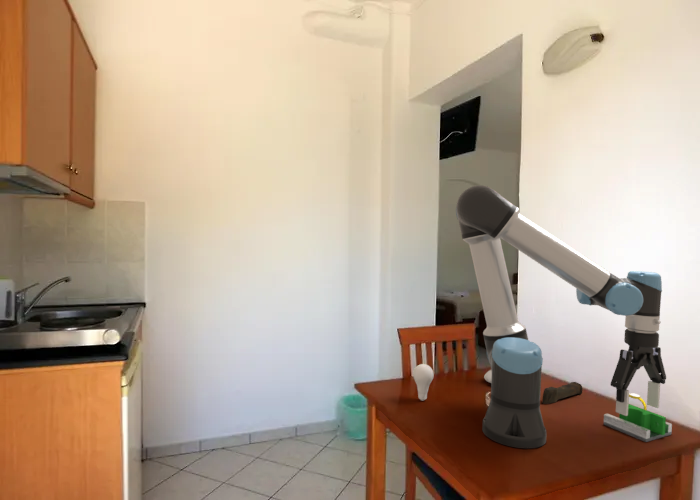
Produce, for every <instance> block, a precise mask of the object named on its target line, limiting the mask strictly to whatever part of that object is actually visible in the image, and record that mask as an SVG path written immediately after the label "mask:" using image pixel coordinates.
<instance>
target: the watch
mask: <svg viewBox="0 0 700 500" xmlns="http://www.w3.org/2000/svg"><path fill="white" fill-rule="evenodd" d="M629 398H630V399H635V400H638V401H639V402H641V403H642V405H643V409H644V410H647V409H648V405H647V402H645V400H644V399H643V398H642V397H641V395H640V394H638V393H634V392H633V393H632V392H631V393H630V392H629ZM647 411H648V410H647Z"/></svg>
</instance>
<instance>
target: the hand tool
mask: <svg viewBox="0 0 700 500" xmlns="http://www.w3.org/2000/svg"><path fill="white" fill-rule="evenodd" d="M582 394H583V385H582V384H581V383H579V382H577V381H572V382H570V383H567V384H563V385H560V386H559V387H554V386H549V387H546V388H544V389H543V393H542V401H541V403H542V404H547V405H548V404H555V403H558V402H557V401H559V400H562V399H565V398H568V397H571V396H575V395H578V396H581V395H582Z"/></svg>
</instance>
